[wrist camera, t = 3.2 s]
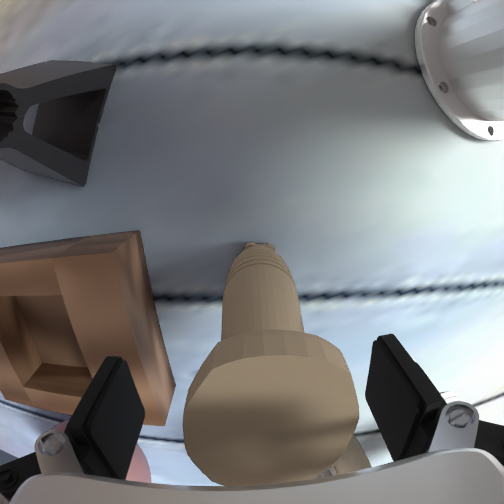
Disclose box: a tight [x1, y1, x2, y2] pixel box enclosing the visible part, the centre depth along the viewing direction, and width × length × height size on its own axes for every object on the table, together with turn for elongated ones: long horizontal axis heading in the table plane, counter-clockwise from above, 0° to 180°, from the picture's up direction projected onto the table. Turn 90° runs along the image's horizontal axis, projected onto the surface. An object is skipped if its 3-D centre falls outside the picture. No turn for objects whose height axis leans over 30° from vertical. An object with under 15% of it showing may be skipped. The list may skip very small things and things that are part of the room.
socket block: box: [0, 230, 176, 426], centre depth 21 cm, size 14×18×5 cm
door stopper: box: [0, 60, 116, 186], centre depth 13 cm, size 9×6×12 cm, turn 163°
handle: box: [183, 242, 359, 486], centre depth 15 cm, size 5×6×15 cm
